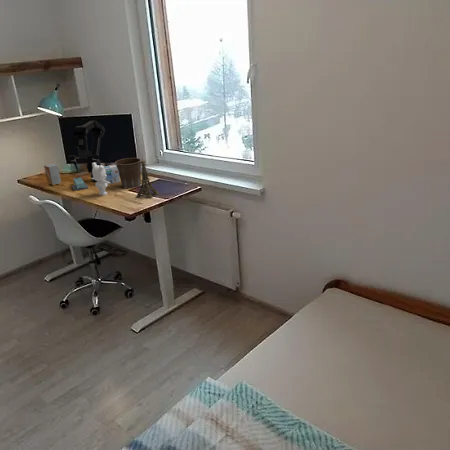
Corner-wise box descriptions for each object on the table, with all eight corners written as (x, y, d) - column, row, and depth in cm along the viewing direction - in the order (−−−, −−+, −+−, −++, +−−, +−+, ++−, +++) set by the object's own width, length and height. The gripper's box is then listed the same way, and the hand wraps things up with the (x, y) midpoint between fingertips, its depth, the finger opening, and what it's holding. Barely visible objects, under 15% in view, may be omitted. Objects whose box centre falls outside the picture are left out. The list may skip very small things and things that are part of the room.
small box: (47, 184, 313) (43, 165, 308) (56, 181, 317) (52, 163, 312) (52, 186, 307) (48, 167, 302) (61, 183, 311) (57, 165, 306)
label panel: (86, 184, 305) (85, 182, 305) (88, 188, 296) (88, 186, 295) (72, 186, 302) (71, 185, 302) (74, 191, 293) (73, 189, 292)
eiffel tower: (144, 192, 281) (138, 151, 271) (159, 193, 277) (154, 152, 268) (135, 197, 271) (129, 155, 262) (150, 198, 268) (145, 156, 259)
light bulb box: (105, 185, 301) (103, 169, 297) (101, 183, 306) (98, 167, 302) (120, 181, 307) (118, 165, 303) (116, 179, 312) (113, 164, 308)
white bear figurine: (99, 190, 291) (94, 160, 284) (118, 195, 278) (113, 163, 271) (89, 193, 286) (83, 162, 279) (107, 198, 273) (102, 166, 266)
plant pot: (138, 189, 287) (135, 164, 281) (114, 189, 290) (110, 164, 285) (147, 181, 302) (144, 157, 296) (124, 182, 305) (121, 158, 299)
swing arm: (81, 181, 309) (80, 176, 307) (85, 187, 294) (84, 182, 293) (73, 182, 307) (72, 178, 306) (77, 188, 292) (76, 184, 291)
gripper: (66, 147, 282) (69, 173, 286) (98, 146, 287) (100, 171, 290) (67, 147, 293) (70, 171, 296) (97, 145, 297) (100, 169, 301)
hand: (85, 171), depth 296 cm, fingers open, 9 cm apart
